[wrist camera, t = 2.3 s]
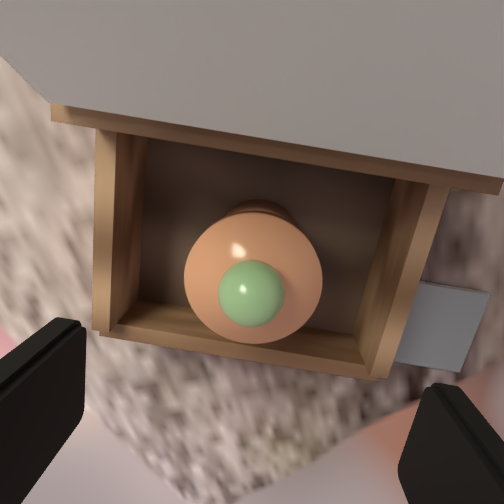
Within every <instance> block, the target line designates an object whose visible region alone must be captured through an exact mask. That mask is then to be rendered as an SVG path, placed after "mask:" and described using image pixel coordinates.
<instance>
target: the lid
mask: <svg viewBox="0 0 504 504" xmlns="http://www.w3.org/2000/svg"><path fill="white" fill-rule="evenodd" d="M0 55H1V56H2V57H3V58H4V59H5V60H6V61H7V62H8V63H9V64H10V65H11V66H12V67H13V68H14V69H15V70H16V71H17V72H18V73H19V74H20V75H21V76H22V77H23V78H24V79H25V80H26V81H27V82H28V83H29V84H30V85H31V86H32V87H33V88H34V89H35V90H36V91H37V92H38V93H39V94H40V95H41V96H42V97H43V98H44V99H45V100H46V101H47V102H48V103H54V104H60V105H66V106H72V107H78V108H84V109H90V110H96V111H102V112H108V113H114V114H120V115H126V116H132V117H138V118H145V119H151V120H157V121H163V122H169V123H175V124H181V125H187V126H193V127H199V128H205V129H211V130H217V131H223V132H229V133H235V134H241V135H247V136H253V137H259V138H265V139H271V140H277V141H283V142H289V143H295V144H301V145H307V146H313V147H319V148H325V149H331V150H337V151H343V152H349V153H355V154H361V155H367V156H373V157H379V158H385V159H391V160H397V161H403V162H409V163H415V164H421V165H427V166H433V167H439V168H445V169H451V170H457V171H463V172H469V173H475V174H481V175H487V176H493V177H499V178H504V0H0Z"/></svg>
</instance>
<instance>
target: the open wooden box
mask: <svg viewBox="0 0 504 504" xmlns="http://www.w3.org/2000/svg"><path fill="white" fill-rule="evenodd" d="M51 121H54V122H60V123H66V124H72V125H78V126H84V127H90V128H96V139H95V188H94V238H93V287H92V330H97V331H100V335H99V336H104V337H110V338H116V339H122V340H128V341H134V342H140V343H146V344H152V345H158V346H164V347H170V348H176V349H182V350H188V351H194V352H200V353H206V354H212V355H218V356H224V357H230V358H236V359H242V360H248V361H254V362H260V363H266V364H272V365H278V366H284V367H291V368H297V369H303V370H309V371H315V372H321V373H327V374H333V375H339V376H345V377H351V378H357V379H363V380H369V381H375V382H378V379H379V378H385V379H388V376H389V373H390V370H391V367H392V364H393V361H394V358H395V355H396V351H397V348H398V345H399V342H400V339H401V336H402V333H403V330H404V327H405V324H406V321H407V318H408V315H409V312H410V309H411V306H412V303H413V300H414V297H415V294H416V291H417V288H418V285H419V282H420V279H421V276H422V273H423V270H424V267H425V264H426V260H427V257H428V254H429V251H430V248H431V245H432V242H433V239H434V236H435V233H436V230H437V227H438V224H439V221H440V218H441V215H442V212H443V209H444V206H445V203H446V200H447V197H448V194H449V191H450V188H456V189H462V190H468V191H475V192H481V193H487V194H493V195H498V194H499V192H500V189H501V186H502V184H503V181H504V178H499V177H493V176H487V175H481V174H475V173H469V172H463V171H457V170H451V169H445V168H439V167H433V166H427V165H421V164H415V163H409V162H403V161H397V160H391V159H385V158H379V157H373V156H367V155H361V154H355V153H349V152H343V151H337V150H331V149H325V148H319V147H313V146H307V145H301V144H295V143H289V142H283V141H277V140H271V139H265V138H259V137H253V136H247V135H241V134H235V133H229V132H223V131H217V130H211V129H205V128H199V127H193V126H187V125H181V124H175V123H169V122H163V121H157V120H151V119H145V118H138V117H132V116H126V115H120V114H114V113H108V112H102V111H96V110H90V109H84V108H78V107H72V106H66V105H60V104H54V103H51ZM252 199H264V200H269V201H272V202H275V203H277V204H279V205H281V206H282V207H283V208H285V209H286V210H287V211H288V212H289V213H290V214H291V215H292V217H293V218H294V220H295V221H296V224H297V226H298V228H300V229H301V230H302V231H303V232H304V234H305V235H306V236H307V237H308V239H309V240H310V242H311V243H312V245H313V247H314V249H315V252H316V254H317V257H318V259H319V262H320V265H321V269H322V291H321V296H320V299H319V302H318V304H317V306H316V309H315V311H314V312H313V314H312V315H311V317H310V318H309V319H308V320H307V321H306V323H305V324H303V325H302V326H301V327H300V328H299V329H298V330H296V331H295V332H293V333H292V334H290V335H288V336H286V337H284V338H282V339H279V340H276V341H272V342H268V343H261V344H249V343H241V342H237V341H233V340H230V339H227V338H225V337H223V336H221V335H219V334H217V333H215V332H214V331H212V330H211V329H210V328H208V327H207V326H206V325H205V324H204V323H203V322H202V321H201V320H200V319H199V318H198V316H197V315H196V314H195V312H194V311H193V309H192V307H191V305H190V303H189V301H188V298H187V295H186V291H185V285H184V271H185V265H186V261H187V258H188V255H189V253H190V251H191V249H192V247H193V246H194V244H195V243H196V241H197V240H198V239H199V237H200V236H201V235H202V234H203V232H204V231H205V230H206V229H207V228H208V227H209V226H211V225H212V224H213V223H214V222H216V221H218V220H219V219H221V218H223V216H224V215H225V214H226V213H227V212H228V211H229V210H230V209H231V208H232V207H234V206H235V205H237V204H239V203H241V202H243V201H247V200H252Z"/></svg>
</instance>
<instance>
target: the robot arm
mask: <svg viewBox="0 0 504 504" xmlns="http://www.w3.org/2000/svg"><path fill="white" fill-rule="evenodd" d="M86 334H87V333H86V328H85V327H81V323H80V322H79V321H77V320H72V319H66V318H60V317H57V318H55V319H53V320H52V321H50V322H49V323H48V324H46V325H45V326H44V327H42V328H41V329H40V330H38V331H37V332H36V333H34V334H33V335H32V336H30V337H29V338H28V339H26V340H25V341H24V342H22V343H21V344H20V345H19V346H17V347H16V348H15V349H13V350H12V351H11V352H9V353H8V354H7V355H5V356H4V357H3V358H1V359H0V504H21V503H22V502H23V500H24V499H25V497H26V496H27V495H28V493H29V492H30V490H31V489H32V488H33V486H34V485H35V483H36V482H37V481H38V479H39V478H40V477H41V475H42V474H43V472H44V471H45V470H46V468H47V467H48V465H49V464H50V463H51V461H52V460H53V459H54V457H55V456H56V454H57V453H58V451H59V450H60V449H61V447H62V446H63V445H64V443H65V442H66V440H67V439H68V438H69V436H70V435H71V433H72V432H73V431H74V429H75V428H76V427H77V425H78V424H79V422H80V420H81V418H82V416H83V412H84V401H85V368H86ZM398 476H399V480H400V483H401V485H402V488H403V491H404V493H405V496H406V498H407V501H408V503H409V504H504V442H503V440H502V439H501V438H500V436H499V435H498V434H497V433H496V432H495V430H494V429H493V428H492V427H491V425H490V424H489V423H488V422H487V420H486V419H485V418H484V417H483V415H482V414H481V413H480V412H479V410H478V409H477V408H476V407H475V405H474V404H473V403H472V402H471V401H470V399H469V398H468V397H467V396H466V394H465V393H464V392H463V391H462V389H460V388H459V387H458V386H453V385H447V384H442V383H433V384H432V385H431V387H427V388H426V389H425V390H424V392H423V395H422V398H421V401H420V404H419V407H418V409H417V412H416V415H415V418H414V421H413V424H412V427H411V429H410V432H409V435H408V438H407V441H406V443H405V446H404V450H403V452H402V455H401V458H400V461H399V464H398Z"/></svg>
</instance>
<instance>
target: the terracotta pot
mask: <svg viewBox="0 0 504 504" xmlns="http://www.w3.org/2000/svg"><path fill="white" fill-rule="evenodd" d="M184 285H185V291H186V295H187V298H188V301H189V303H190V305H191V307H192V309H193V311H194V312H195V314H196V315H197V316H198V318H199V319H200V320H201V321H202V322H203V323H204V324H205V325H206V326H207V327H208V328H210V329H211V330H212V331H214V332H215V333H217V334H219V335H221V336H223V337H225V338H227V339H230V340H233V341H237V342H241V343H249V344H261V343H268V342H272V341H276V340H279V339H282V338H284V337H286V336H288V335H290V334H292V333H293V332H295V331H296V330H298V329H299V328H300V327H301V326H302V325H303V324H305V323H306V321H307V320H308V319H309V318H310V317H311V315H312V314H313V312H314V311H315V309H316V306H317V304H318V302H319V299H320V296H321V291H322V269H321V265H320V262H319V259H318V257H317V254H316V252H315V249H314V247H313V245H312V243H311V242H310V240H309V239H308V237H307V236H306V235H305V234H304V232H303V231H302V230H301V229H300V228H298V226H297V224H296V221H295V220H294V218H293V217H292V215H291V214H290V213H289V212H288V211H287V210H286V209H285V208H283V207H282V206H281V205H279V204H277V203H275V202H272V201H269V200H264V199H252V200H247V201H243V202H241V203H239V204H237V205H235V206H234V207H232V208H231V209H230V210H229V211H228V212H227V213H226V214H225V215H224V216H223V218H221V219H219V220H218V221H216V222H214V223H213V224H212V225H211V226H209V227H208V228H207V229H206V230H205V231H204V232H203V234H202V235H201V236H200V237H199V239H198V240H197V241H196V243H195V244H194V246H193V247H192V249H191V251H190V253H189V255H188V258H187V261H186V265H185V271H184Z"/></svg>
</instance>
